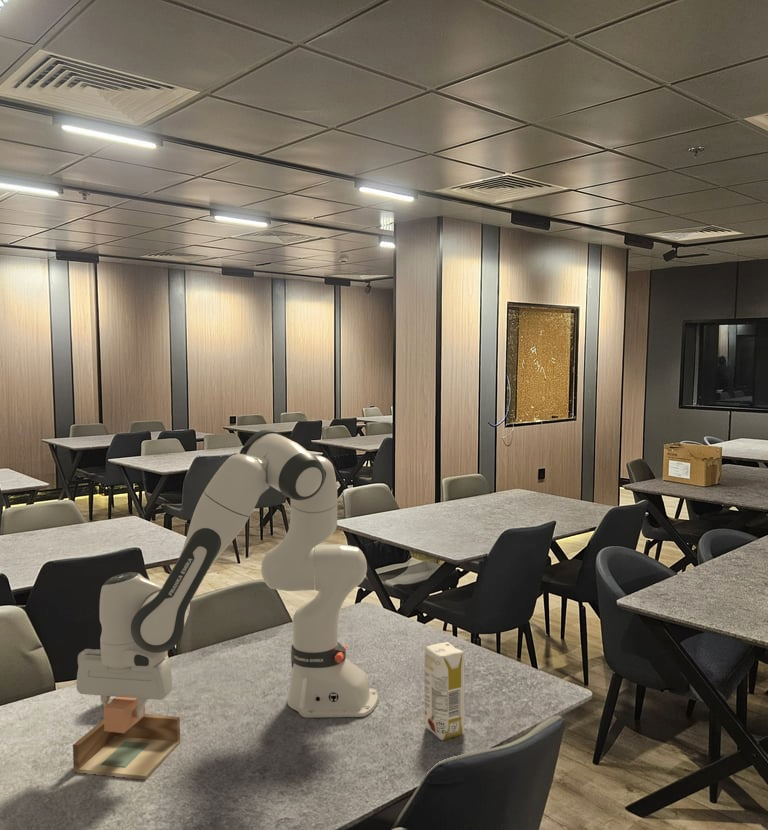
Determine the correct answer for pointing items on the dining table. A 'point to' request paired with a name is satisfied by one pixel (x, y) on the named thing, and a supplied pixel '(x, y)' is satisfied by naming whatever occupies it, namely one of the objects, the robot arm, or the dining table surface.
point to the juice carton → (444, 690)
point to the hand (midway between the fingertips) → (124, 715)
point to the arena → (127, 748)
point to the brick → (120, 714)
